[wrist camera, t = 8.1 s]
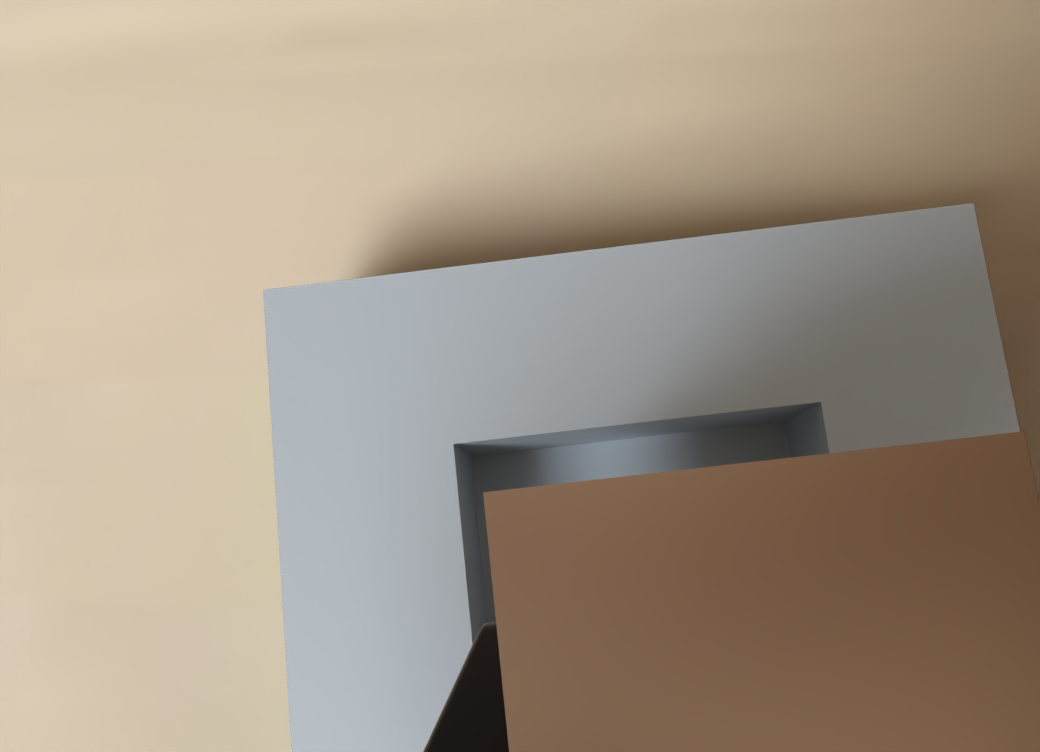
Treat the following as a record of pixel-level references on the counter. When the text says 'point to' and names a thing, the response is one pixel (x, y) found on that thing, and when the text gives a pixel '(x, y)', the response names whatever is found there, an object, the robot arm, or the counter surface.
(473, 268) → the well block
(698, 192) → the counter surface
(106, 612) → the counter surface
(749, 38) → the counter surface
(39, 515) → the counter surface
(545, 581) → the walnut post
